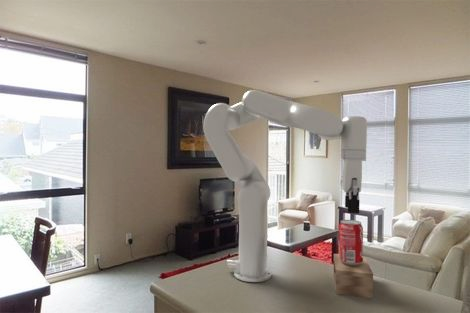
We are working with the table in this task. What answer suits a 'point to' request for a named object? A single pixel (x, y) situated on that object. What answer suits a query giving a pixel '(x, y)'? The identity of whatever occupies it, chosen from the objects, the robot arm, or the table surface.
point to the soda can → (351, 242)
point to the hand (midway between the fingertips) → (351, 210)
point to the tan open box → (353, 278)
